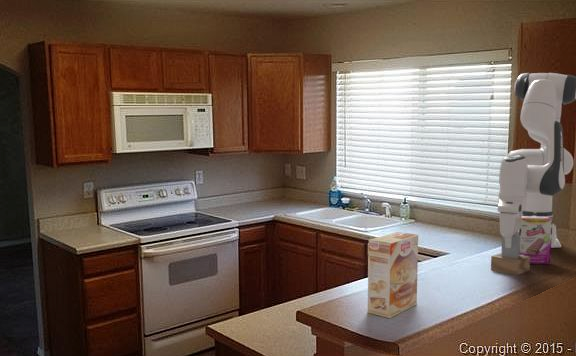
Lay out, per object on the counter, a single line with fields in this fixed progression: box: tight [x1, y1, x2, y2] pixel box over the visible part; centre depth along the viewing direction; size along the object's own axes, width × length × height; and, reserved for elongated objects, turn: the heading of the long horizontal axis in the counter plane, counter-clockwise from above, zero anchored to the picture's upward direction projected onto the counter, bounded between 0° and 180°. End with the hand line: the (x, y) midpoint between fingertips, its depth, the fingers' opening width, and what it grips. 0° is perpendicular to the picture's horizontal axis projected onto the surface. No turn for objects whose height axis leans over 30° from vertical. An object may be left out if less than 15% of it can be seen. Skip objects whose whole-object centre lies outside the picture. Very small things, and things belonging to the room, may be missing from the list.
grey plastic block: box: [501, 235, 520, 259], centre depth 189 cm, size 5×5×7 cm
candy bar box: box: [517, 216, 554, 265], centre depth 199 cm, size 11×5×16 cm, turn 84°
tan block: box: [490, 252, 531, 276], centre depth 190 cm, size 9×9×5 cm
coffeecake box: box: [366, 231, 419, 319], centre depth 149 cm, size 15×7×20 cm, turn 139°
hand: (511, 245), depth 189 cm, fingers open, 8 cm apart
